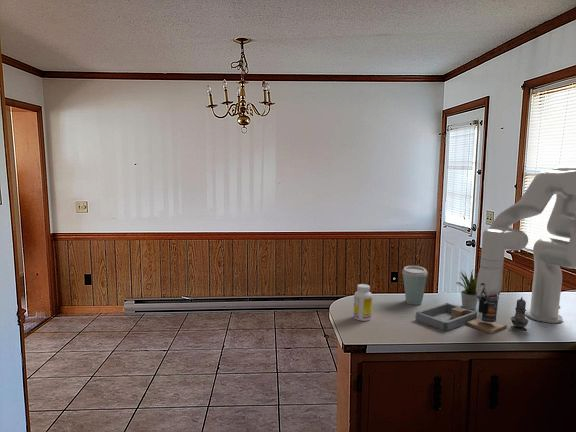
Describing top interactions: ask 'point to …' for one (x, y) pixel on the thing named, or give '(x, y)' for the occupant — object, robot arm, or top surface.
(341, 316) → the top surface
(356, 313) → the supplement bottle
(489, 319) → the pill bottle
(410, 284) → the disposable coffee cup
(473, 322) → the pad
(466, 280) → the house plant
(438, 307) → the bin
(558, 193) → the robot arm
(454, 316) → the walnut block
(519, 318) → the stone chess piece
